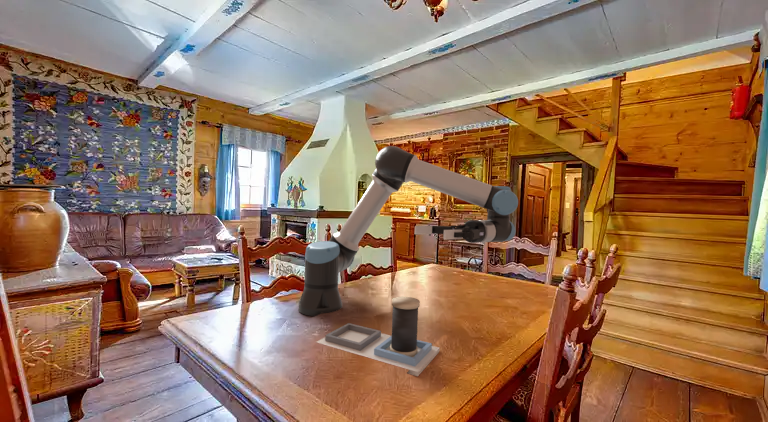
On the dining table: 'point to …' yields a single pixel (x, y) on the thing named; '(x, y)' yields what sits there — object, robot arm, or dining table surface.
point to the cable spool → (404, 326)
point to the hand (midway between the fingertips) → (429, 232)
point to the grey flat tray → (379, 347)
